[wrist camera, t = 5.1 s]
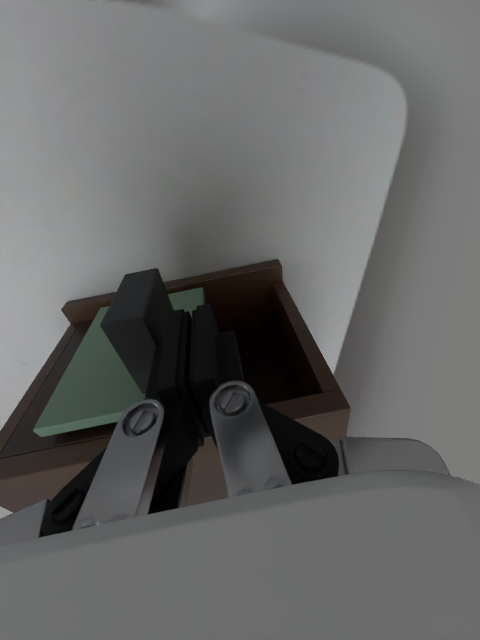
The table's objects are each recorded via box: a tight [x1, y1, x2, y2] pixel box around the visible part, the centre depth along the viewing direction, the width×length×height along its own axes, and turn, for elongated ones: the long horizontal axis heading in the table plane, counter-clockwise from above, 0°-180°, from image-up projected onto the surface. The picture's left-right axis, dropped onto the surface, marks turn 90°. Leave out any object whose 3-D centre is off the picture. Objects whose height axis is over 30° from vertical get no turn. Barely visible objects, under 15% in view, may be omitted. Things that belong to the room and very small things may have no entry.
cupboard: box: [0, 260, 351, 513], centre depth 18 cm, size 11×16×12 cm, turn 99°
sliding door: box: [33, 268, 205, 437], centre depth 14 cm, size 5×7×9 cm, turn 99°
